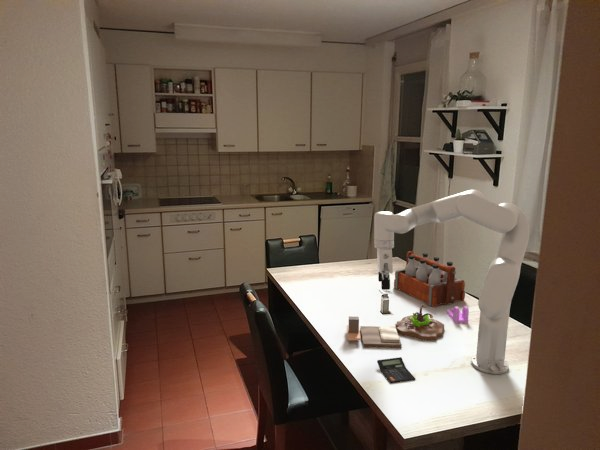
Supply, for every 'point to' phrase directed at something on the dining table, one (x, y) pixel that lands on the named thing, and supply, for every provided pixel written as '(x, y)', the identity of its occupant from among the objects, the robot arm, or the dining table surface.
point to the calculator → (395, 370)
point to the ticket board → (380, 337)
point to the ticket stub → (353, 329)
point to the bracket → (459, 314)
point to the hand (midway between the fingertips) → (384, 285)
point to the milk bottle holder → (429, 281)
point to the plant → (420, 326)
